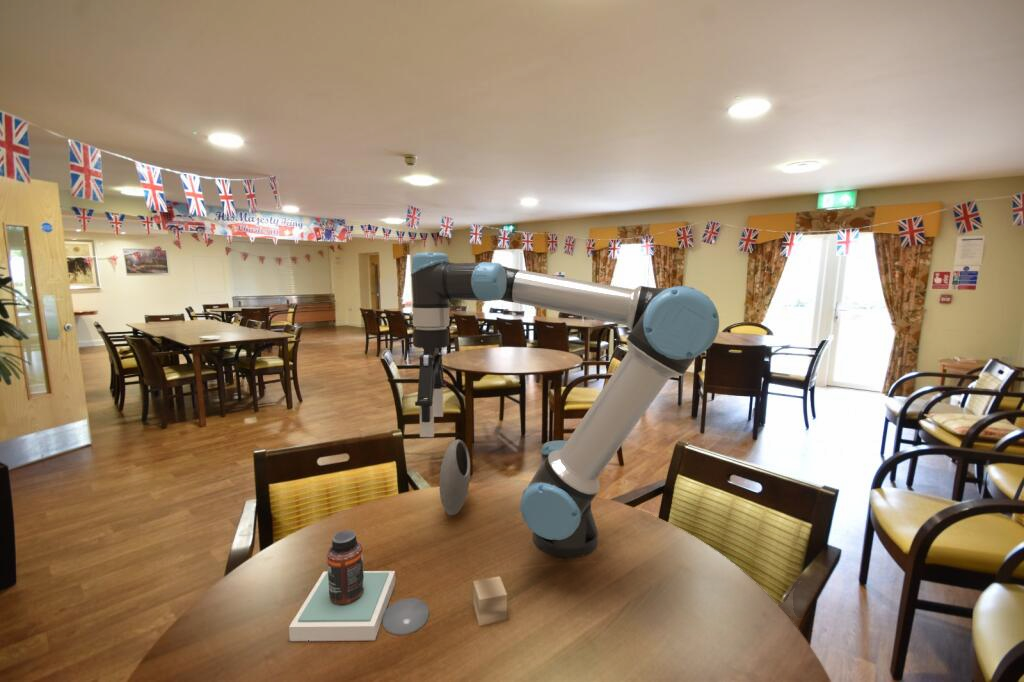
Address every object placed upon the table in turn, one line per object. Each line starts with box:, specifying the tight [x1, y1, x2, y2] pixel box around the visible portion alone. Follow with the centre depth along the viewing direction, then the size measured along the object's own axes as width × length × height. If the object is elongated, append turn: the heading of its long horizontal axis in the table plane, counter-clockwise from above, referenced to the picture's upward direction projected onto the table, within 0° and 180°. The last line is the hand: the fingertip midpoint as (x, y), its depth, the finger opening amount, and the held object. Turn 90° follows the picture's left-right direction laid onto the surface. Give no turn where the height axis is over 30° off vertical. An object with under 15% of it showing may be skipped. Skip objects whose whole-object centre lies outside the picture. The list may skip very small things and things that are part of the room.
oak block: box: [473, 576, 508, 626], centre depth 78 cm, size 5×5×5 cm
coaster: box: [382, 597, 430, 636], centre depth 77 cm, size 8×8×1 cm
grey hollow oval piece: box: [439, 439, 471, 516], centre depth 113 cm, size 18×7×19 cm, turn 176°
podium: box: [288, 570, 396, 642], centre depth 78 cm, size 14×14×3 cm
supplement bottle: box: [326, 529, 364, 604], centre depth 78 cm, size 6×6×11 cm
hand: (432, 425), depth 93 cm, fingers open, 13 cm apart
